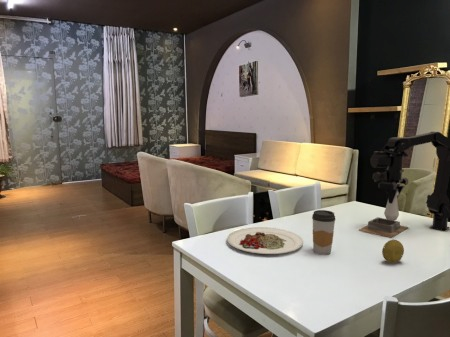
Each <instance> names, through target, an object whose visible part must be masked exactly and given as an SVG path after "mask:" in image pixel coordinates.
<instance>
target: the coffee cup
mask: <svg viewBox="0 0 450 337" xmlns="http://www.w3.org/2000/svg"><path fill="white" fill-rule="evenodd" d="M311 219H312V243H313V244H312V245H313V248H312V249H313V251H314V253H316V254H318V255H322V256H323V255H324V256H326V255H330V254H331V252H332V247H333V241H334V232H335V230H334V229H335V221H336V216H335V212H333V211H330V210H327V209H326V210H325V209H318V210H314V211H313V214H312V217H311Z"/></svg>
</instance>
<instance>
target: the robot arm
mask: <svg viewBox="0 0 450 337" xmlns="http://www.w3.org/2000/svg"><path fill="white" fill-rule="evenodd" d="M387 140H388V141H387V143H386V144H385V145H384V147H383V148H381V151H376V150H375V151H373V154H372V155H371V156H370V159H369V163H370V166H371V167H372V168H386V169H384V172H379V171H376V172H374V173H373V174H372V179H373V180H374V183H377V182H378V186H377V187H378V189H383V190H384V191H385V192H386V195H387V201H388V200H389V203H392V202H393V200H394V198H395V196H396V194H397V192H399V194H398V196H397V199H398V198H399V197H400V195H401V193H402V192H403V190H404V188H406V186H408V185H409V179H408V178H407V177H404V176H403V172H405V171H404V169H403V164H404V158H407V157H409V155H408V154H407V153H406V151H408V150H409V149H411V148H413V147H415V146H420V145H424V144H428V143H429V144H430V143H431V146H433V147H434V148H436V150H435V154H436V156H437V160H438V163H437V169H436V170H437V171H436V176H435V181H434V187H433V191H432V193H431V194H427V196H426V202H425V204H426V207H427V208H428V212H429V213H430V214H433V216H432V225H430V226H429V228H430V229H433V230H438V231H443V232H446V231H448V230H449V229H450V226H448V221H449V219H450V200H449V196H448V194H447V193H448V192H447V191H448V187H449V181H450V137H447V136H445V135H444V134H443V133H441V132H440V131H430V132H426V133H422V134H416V135H412V136H408V137H406V136H405V137H403V136H401V137H400V136H399V137H398V136H396V137H390V138H388V139H387ZM402 176H403V177H402ZM379 181H380V182H379ZM402 184H404V185H402Z"/></svg>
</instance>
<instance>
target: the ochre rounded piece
mask: <svg viewBox="0 0 450 337" xmlns="http://www.w3.org/2000/svg"><path fill="white" fill-rule="evenodd" d="M381 253H382V254H381V255H382V257H383V259H384V260H385V261H386V262H388V263H392V264H395V263H398V262H399V261H400V260H402V258H403V257H404V253H405V247H404V245H403V243H402V242H401V241H399V240H396V239H389V240H388V241H387V242H385V243H384V244H383V247H382V252H381Z"/></svg>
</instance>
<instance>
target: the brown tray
mask: <svg viewBox="0 0 450 337" xmlns="http://www.w3.org/2000/svg"><path fill="white" fill-rule="evenodd" d="M367 222H368V224H366V225H365V226H363V227H361V228H359V229H358V231H359V232H363V233H367V234H372V235H375V236H379V237H384V238H388V239H392V238H394V237H395V236H398V235H399V234H400V233H402V232H404V231H406V230H407V229H409V227H408V226H405V225H401V222H400V221H398V220H395V221H393V220H387V219H386V218H382V217H376V218H374V219H370V220H369V221H367Z"/></svg>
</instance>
